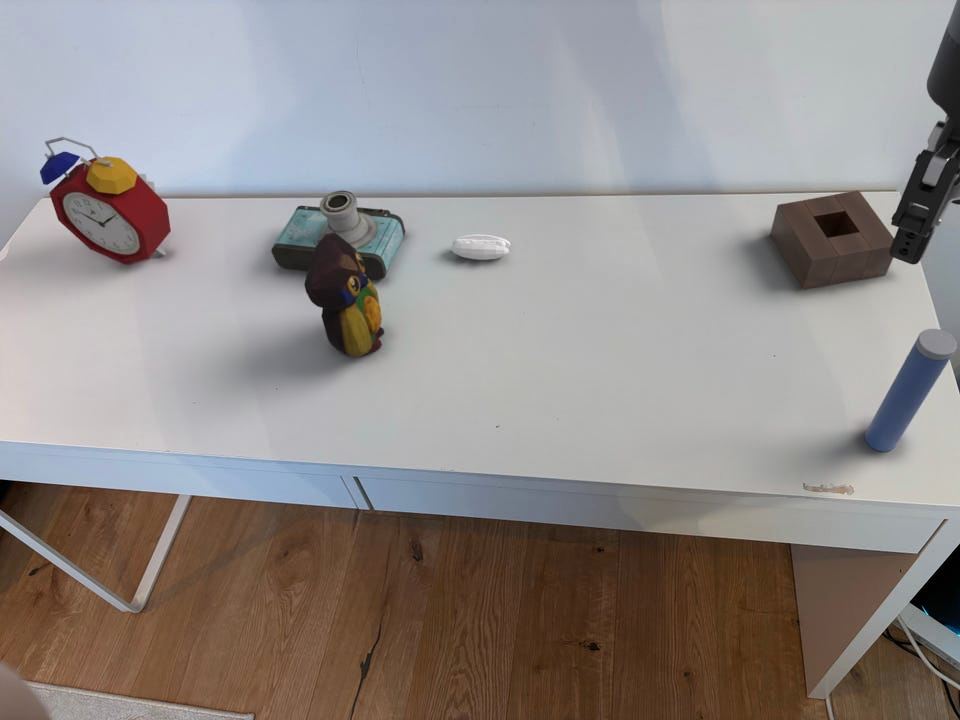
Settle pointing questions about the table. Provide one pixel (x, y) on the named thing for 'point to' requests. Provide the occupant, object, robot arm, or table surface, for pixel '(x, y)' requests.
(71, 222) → the alarm clock
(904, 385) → the handle
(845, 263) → the holder
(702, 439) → the table surface
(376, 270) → the camera
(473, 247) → the white oval lump
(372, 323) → the figurine
